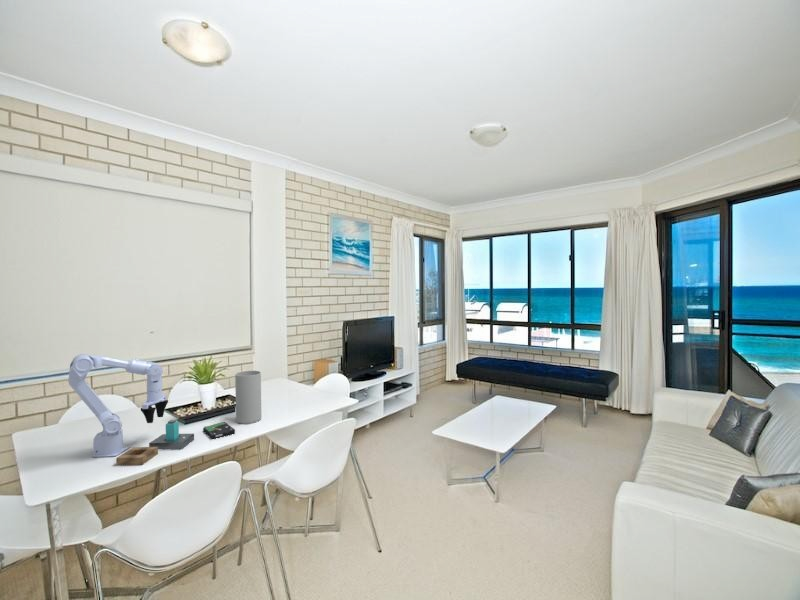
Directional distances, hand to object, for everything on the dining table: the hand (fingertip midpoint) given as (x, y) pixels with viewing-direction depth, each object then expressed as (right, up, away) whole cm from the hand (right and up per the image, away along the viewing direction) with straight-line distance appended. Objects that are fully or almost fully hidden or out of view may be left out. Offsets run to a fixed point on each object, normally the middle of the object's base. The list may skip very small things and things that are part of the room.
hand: (155, 419), depth 168 cm
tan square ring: (+4, -11, -17) cm, 20 cm away
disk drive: (+23, -11, +12) cm, 28 cm away
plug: (+9, -10, -2) cm, 14 cm away
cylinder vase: (+31, -10, +29) cm, 43 cm away
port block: (+9, -10, -2) cm, 14 cm away
